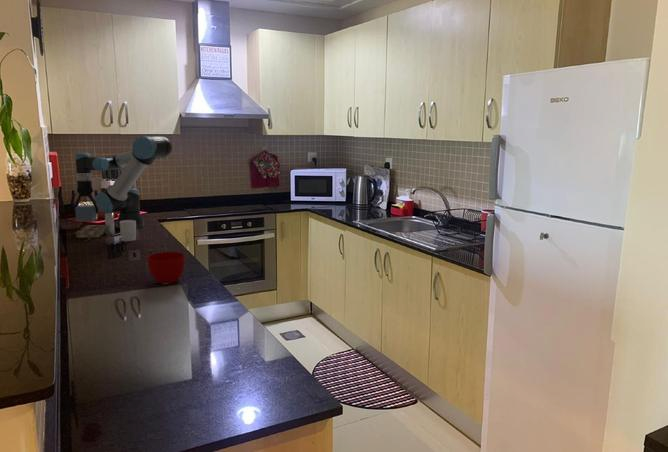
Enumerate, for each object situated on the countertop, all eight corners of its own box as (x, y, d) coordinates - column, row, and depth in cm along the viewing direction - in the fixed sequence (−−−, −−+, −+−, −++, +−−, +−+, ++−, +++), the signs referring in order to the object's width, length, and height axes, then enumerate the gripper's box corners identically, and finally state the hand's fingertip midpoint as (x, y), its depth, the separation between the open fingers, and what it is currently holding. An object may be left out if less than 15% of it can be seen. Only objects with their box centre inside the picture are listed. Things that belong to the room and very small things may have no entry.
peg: (115, 233, 272) (114, 212, 270) (113, 235, 268) (112, 213, 265) (107, 234, 271) (105, 212, 269) (105, 235, 267) (103, 213, 265)
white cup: (131, 242, 251) (130, 222, 250) (117, 241, 253) (116, 222, 251) (140, 239, 259) (139, 220, 257) (126, 238, 261) (125, 219, 259)
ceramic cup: (167, 273, 196) (165, 248, 194) (192, 281, 185) (191, 255, 183) (136, 280, 186) (134, 254, 184) (161, 289, 175) (160, 262, 173)
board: (108, 230, 282) (108, 225, 282) (98, 237, 263) (98, 231, 262) (88, 230, 280) (87, 225, 280) (76, 237, 261) (75, 232, 260)
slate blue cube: (97, 218, 292) (96, 205, 290) (93, 221, 283) (92, 207, 282) (81, 218, 290) (80, 205, 289) (76, 221, 282) (75, 207, 280)
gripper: (61, 180, 277) (64, 220, 281) (102, 180, 281) (105, 219, 285) (66, 179, 285) (69, 218, 289) (106, 179, 288) (108, 217, 292)
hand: (87, 219), depth 287 cm, fingers closed on slate blue cube, 9 cm apart
